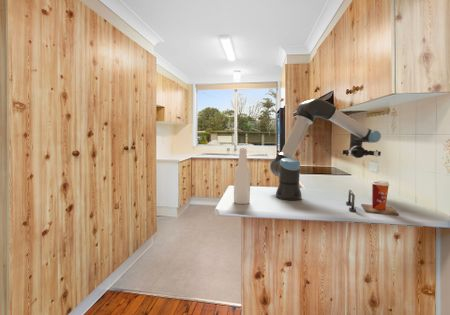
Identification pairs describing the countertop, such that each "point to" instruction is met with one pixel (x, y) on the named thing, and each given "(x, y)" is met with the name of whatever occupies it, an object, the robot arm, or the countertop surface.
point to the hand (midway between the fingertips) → (363, 153)
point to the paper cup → (379, 194)
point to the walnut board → (387, 210)
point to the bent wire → (351, 202)
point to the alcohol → (242, 179)
